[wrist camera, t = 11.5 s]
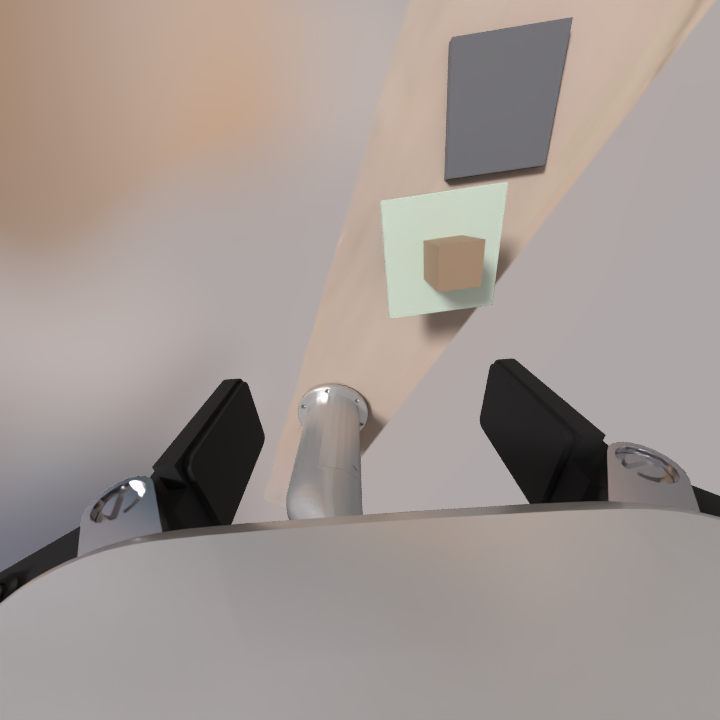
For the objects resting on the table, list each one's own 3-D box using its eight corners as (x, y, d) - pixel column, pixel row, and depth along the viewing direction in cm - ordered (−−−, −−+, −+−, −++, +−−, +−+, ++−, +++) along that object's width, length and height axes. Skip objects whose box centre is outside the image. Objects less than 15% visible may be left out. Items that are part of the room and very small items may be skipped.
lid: (487, 301, 29) (518, 321, 23) (388, 314, 29) (396, 337, 24) (500, 183, 23) (545, 173, 18) (379, 201, 24) (387, 197, 18)
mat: (539, 166, 30) (545, 164, 29) (444, 180, 30) (447, 179, 29) (564, 24, 24) (572, 17, 24) (448, 43, 25) (452, 37, 24)
